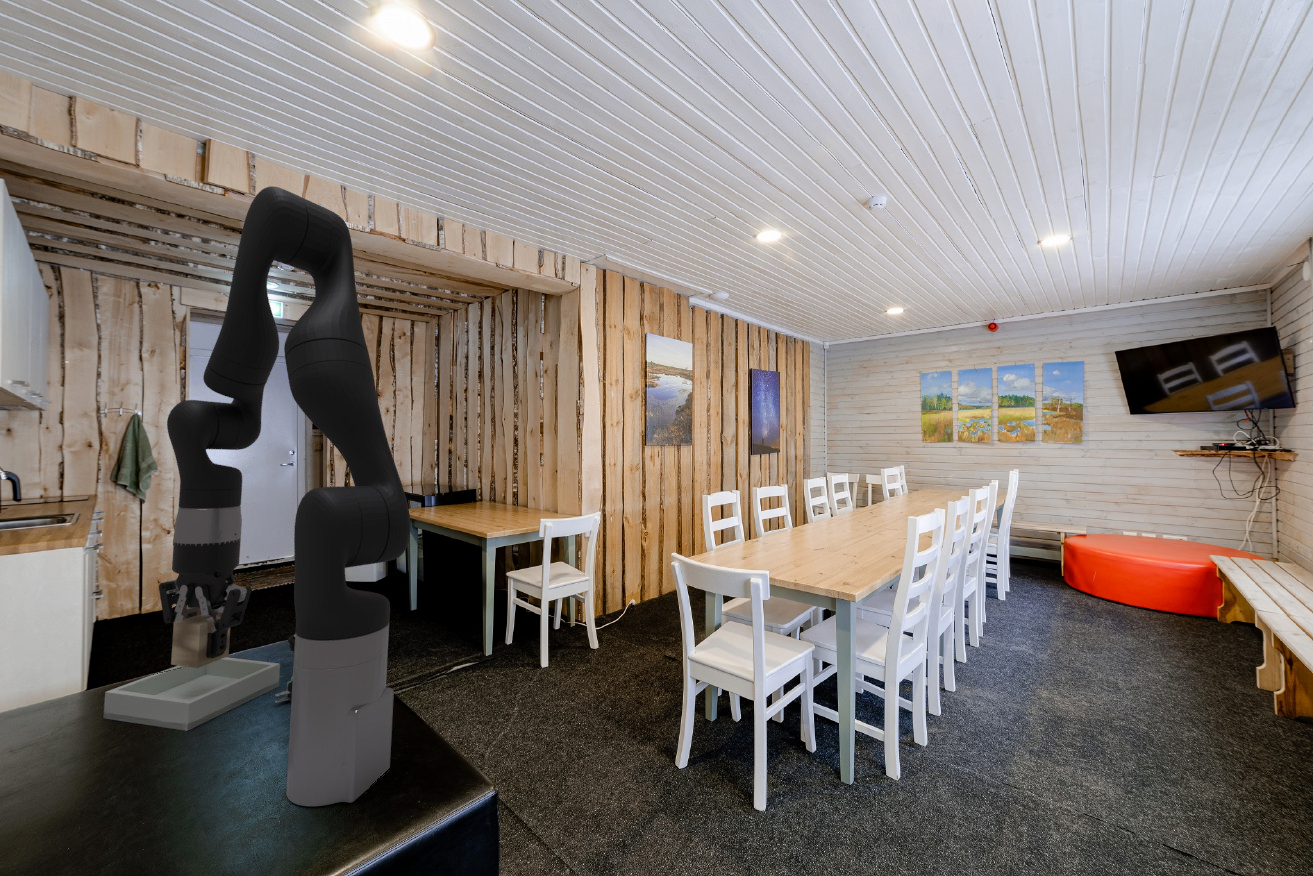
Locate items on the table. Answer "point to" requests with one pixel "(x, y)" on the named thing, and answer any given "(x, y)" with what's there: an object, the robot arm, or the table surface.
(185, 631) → the pine block
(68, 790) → the table surface
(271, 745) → the table surface
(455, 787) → the table surface
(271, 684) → the tray
